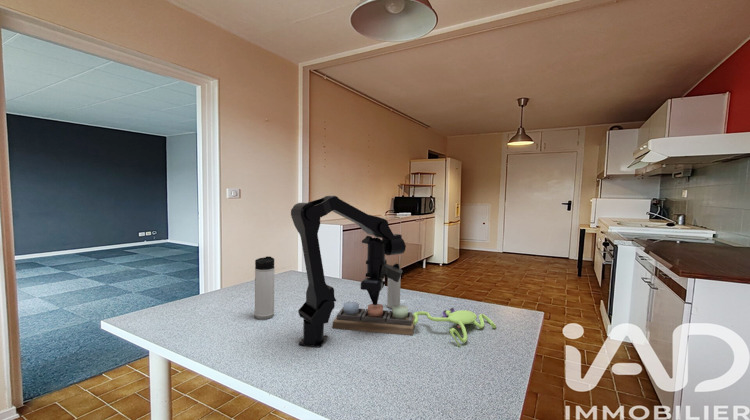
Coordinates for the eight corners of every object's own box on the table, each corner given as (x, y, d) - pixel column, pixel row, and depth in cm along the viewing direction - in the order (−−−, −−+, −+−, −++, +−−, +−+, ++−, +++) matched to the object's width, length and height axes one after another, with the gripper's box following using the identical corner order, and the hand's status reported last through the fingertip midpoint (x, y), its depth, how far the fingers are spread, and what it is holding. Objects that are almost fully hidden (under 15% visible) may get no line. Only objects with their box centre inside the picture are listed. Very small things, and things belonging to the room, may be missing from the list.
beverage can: (399, 309, 120) (399, 277, 119) (386, 308, 121) (386, 276, 120) (400, 305, 125) (401, 274, 124) (388, 304, 126) (388, 273, 125)
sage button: (407, 319, 101) (407, 311, 101) (391, 317, 102) (391, 310, 102) (408, 313, 106) (408, 306, 106) (392, 312, 107) (393, 304, 107)
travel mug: (277, 313, 114) (277, 256, 113) (269, 320, 107) (269, 260, 107) (260, 312, 115) (260, 256, 114) (251, 319, 108) (251, 259, 107)
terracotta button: (381, 317, 103) (381, 309, 103) (366, 315, 103) (366, 308, 103) (383, 311, 108) (384, 304, 107) (369, 310, 108) (369, 303, 108)
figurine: (404, 331, 102) (404, 313, 102) (453, 311, 120) (453, 296, 120) (454, 352, 88) (454, 332, 88) (501, 327, 106) (502, 310, 106)
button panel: (412, 335, 98) (413, 324, 98) (332, 328, 102) (332, 317, 102) (414, 320, 109) (414, 310, 109) (342, 314, 114) (342, 305, 114)
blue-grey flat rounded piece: (356, 315, 104) (357, 307, 104) (341, 313, 105) (341, 306, 105) (360, 309, 109) (360, 302, 109) (345, 308, 110) (345, 301, 110)
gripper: (398, 263, 94) (397, 317, 95) (403, 253, 113) (402, 297, 113) (360, 261, 96) (359, 314, 97) (371, 251, 115) (371, 295, 115)
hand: (375, 304), depth 105 cm, fingers closed
